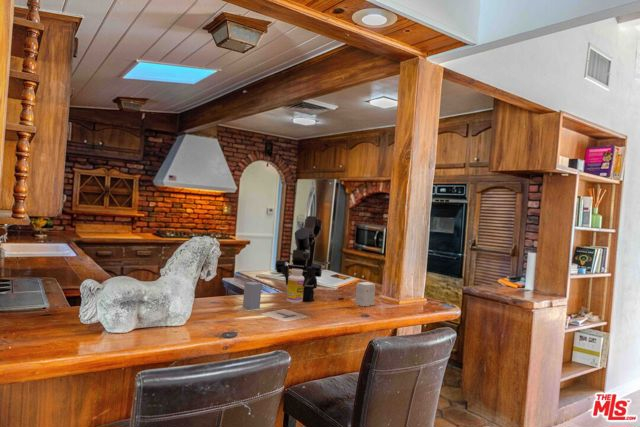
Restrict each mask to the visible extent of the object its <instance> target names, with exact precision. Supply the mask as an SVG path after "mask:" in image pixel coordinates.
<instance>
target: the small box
mask: <svg viewBox="0 0 640 427" xmlns="http://www.w3.org/2000/svg"><path fill="white" fill-rule="evenodd" d="M375 293H376V283H373V282H371V281H370V282H369V281H362V282H357V283H356V290H355V299H354V300H355V301H354V304H357V305H356V306H359V305H360V306H359V307H362V306H363V308H364V306H366V307H370V305H371V306H374V305H375V296H376V294H375Z"/></svg>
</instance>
